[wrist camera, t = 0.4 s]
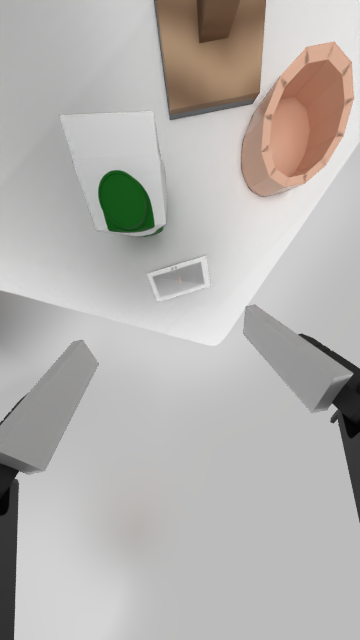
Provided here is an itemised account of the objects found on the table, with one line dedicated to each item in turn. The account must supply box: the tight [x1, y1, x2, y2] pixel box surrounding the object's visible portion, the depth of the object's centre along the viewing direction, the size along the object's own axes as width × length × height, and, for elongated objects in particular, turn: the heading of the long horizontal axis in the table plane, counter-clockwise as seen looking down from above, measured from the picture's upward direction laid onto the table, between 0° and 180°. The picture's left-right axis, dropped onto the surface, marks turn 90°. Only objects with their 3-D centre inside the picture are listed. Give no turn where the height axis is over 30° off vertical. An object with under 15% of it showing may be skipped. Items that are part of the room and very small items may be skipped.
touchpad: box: [147, 256, 211, 302], centre depth 36 cm, size 8×15×2 cm, turn 105°
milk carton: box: [59, 111, 167, 237], centre depth 20 cm, size 9×9×20 cm
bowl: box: [241, 42, 354, 197], centre depth 23 cm, size 13×13×6 cm
